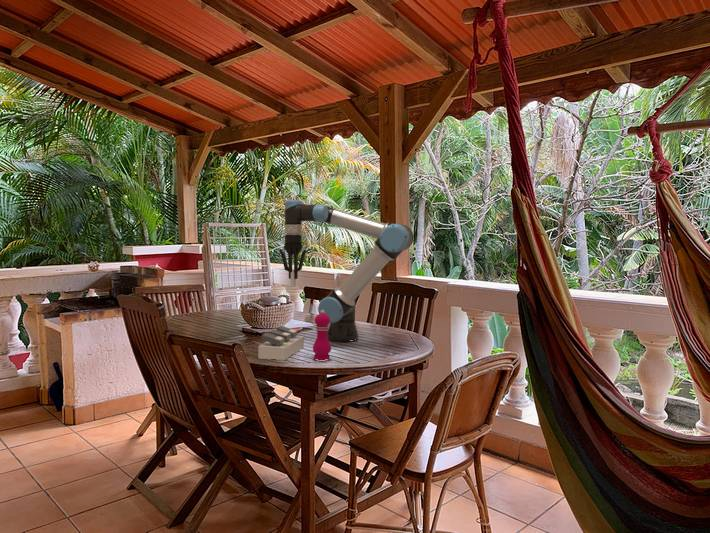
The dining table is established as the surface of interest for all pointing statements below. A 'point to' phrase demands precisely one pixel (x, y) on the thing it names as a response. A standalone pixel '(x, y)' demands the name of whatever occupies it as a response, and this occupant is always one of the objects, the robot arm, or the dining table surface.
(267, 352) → the power strip
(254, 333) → the dining table surface
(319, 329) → the pepper mill
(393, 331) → the dining table surface
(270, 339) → the rocker
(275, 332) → the rocker
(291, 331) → the rocker
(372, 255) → the robot arm
